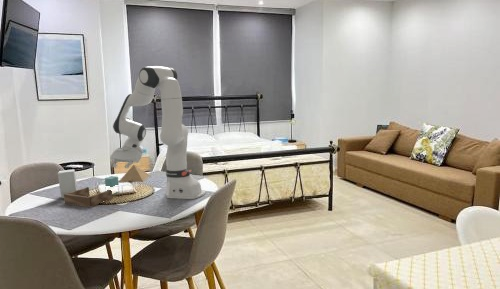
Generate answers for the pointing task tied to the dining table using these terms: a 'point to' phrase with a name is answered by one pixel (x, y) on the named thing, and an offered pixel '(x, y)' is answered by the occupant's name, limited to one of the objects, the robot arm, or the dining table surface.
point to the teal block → (111, 181)
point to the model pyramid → (134, 175)
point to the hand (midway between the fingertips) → (119, 167)
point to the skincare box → (67, 181)
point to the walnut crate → (81, 197)
